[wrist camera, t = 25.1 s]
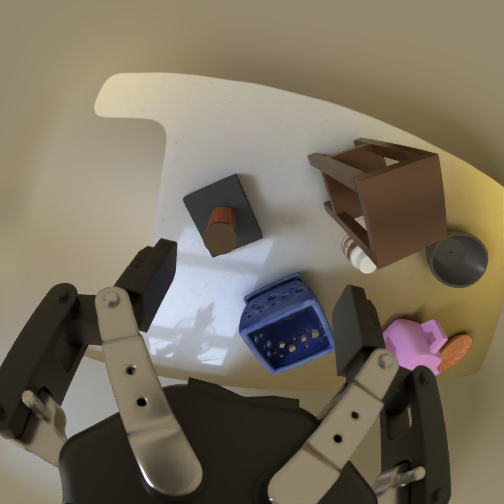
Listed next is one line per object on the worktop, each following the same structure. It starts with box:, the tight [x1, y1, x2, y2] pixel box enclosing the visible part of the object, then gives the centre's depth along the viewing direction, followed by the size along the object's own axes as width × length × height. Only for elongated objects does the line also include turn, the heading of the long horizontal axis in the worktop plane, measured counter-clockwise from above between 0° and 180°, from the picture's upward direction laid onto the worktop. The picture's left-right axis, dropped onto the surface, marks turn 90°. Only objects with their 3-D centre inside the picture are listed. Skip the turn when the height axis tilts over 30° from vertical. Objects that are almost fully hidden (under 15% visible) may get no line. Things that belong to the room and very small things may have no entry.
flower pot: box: [239, 272, 335, 374], centre depth 47 cm, size 13×13×12 cm
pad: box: [183, 174, 263, 257], centre depth 44 cm, size 11×9×2 cm
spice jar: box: [203, 206, 237, 254], centre depth 39 cm, size 4×4×8 cm
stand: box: [308, 138, 447, 269], centre depth 33 cm, size 10×10×20 cm
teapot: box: [383, 319, 448, 375], centre depth 53 cm, size 19×18×15 cm
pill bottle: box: [342, 236, 377, 274], centre depth 44 cm, size 4×4×8 cm
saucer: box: [438, 334, 472, 371], centre depth 65 cm, size 16×16×3 cm
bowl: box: [426, 231, 488, 288], centre depth 47 cm, size 12×22×6 cm, turn 74°
